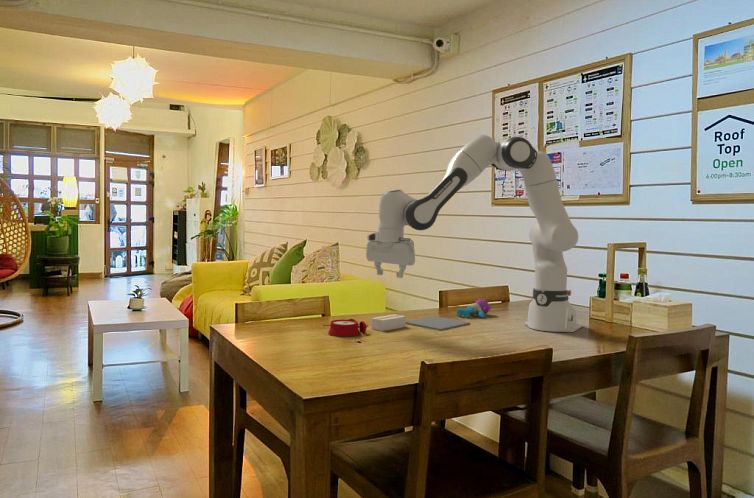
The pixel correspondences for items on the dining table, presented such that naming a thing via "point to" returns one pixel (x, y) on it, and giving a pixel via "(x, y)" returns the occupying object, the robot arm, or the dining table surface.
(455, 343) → the dining table surface
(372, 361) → the dining table surface
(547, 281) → the robot arm
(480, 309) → the toy
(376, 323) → the white rectangular block
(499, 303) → the dining table surface
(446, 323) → the mat
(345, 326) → the alarm clock
